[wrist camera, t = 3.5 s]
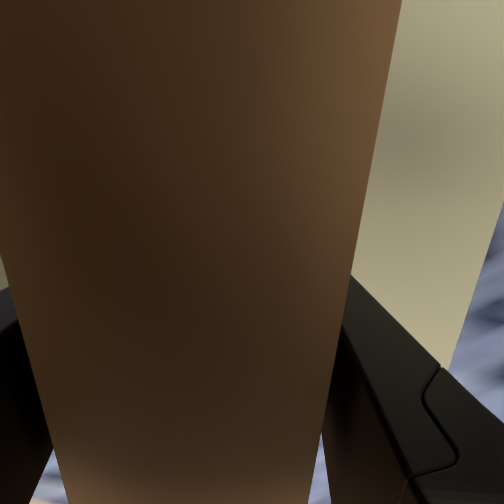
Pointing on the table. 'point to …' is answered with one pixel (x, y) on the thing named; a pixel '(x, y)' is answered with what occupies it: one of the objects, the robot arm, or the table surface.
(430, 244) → the board
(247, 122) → the slat
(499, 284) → the table surface
